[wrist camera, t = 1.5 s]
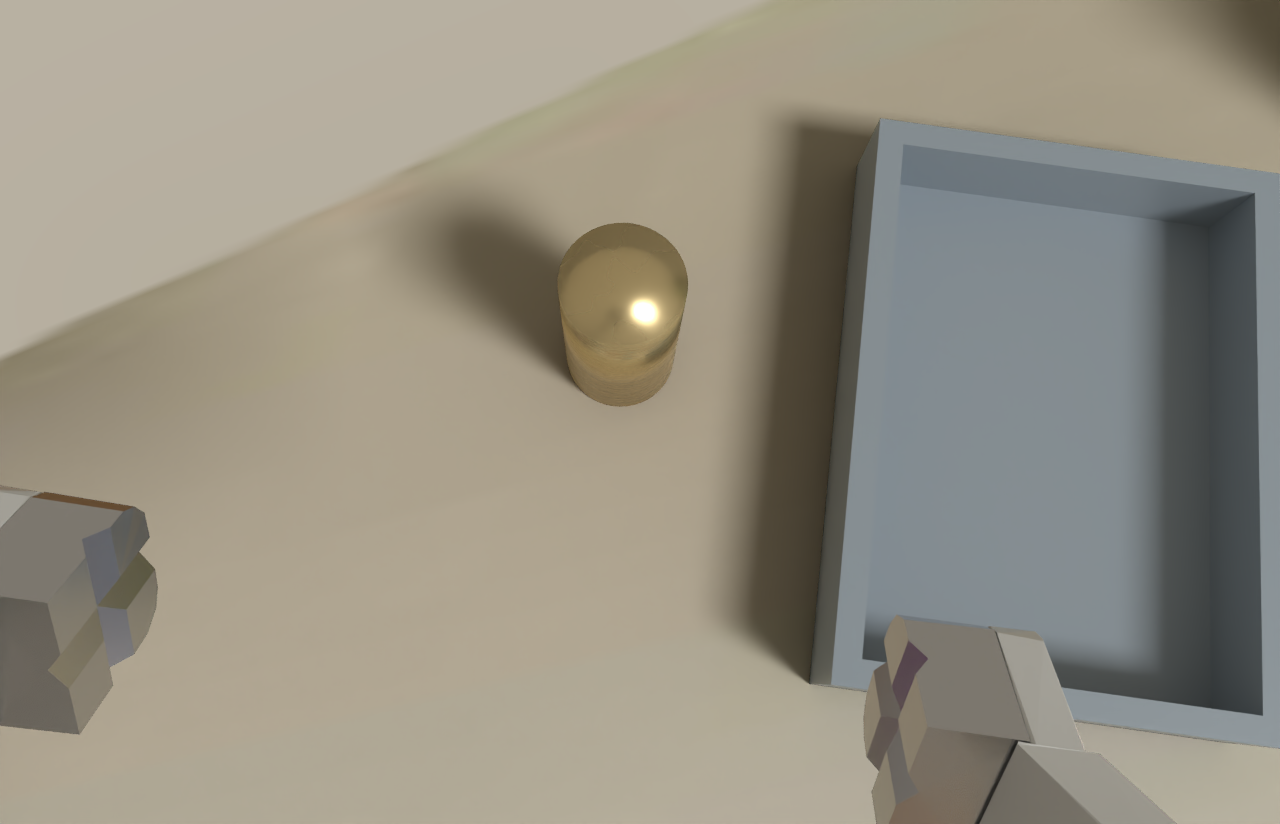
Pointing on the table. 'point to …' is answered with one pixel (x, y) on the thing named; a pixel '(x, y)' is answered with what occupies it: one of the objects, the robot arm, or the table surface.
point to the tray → (1063, 423)
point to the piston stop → (621, 311)
